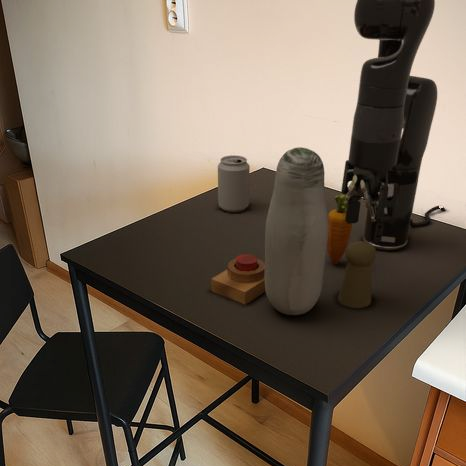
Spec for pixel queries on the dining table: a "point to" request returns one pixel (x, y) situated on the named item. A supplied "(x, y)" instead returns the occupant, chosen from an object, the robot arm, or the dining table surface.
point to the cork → (357, 275)
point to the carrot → (338, 230)
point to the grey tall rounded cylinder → (296, 233)
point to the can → (233, 183)
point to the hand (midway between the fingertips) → (362, 231)
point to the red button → (246, 262)
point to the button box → (240, 282)
